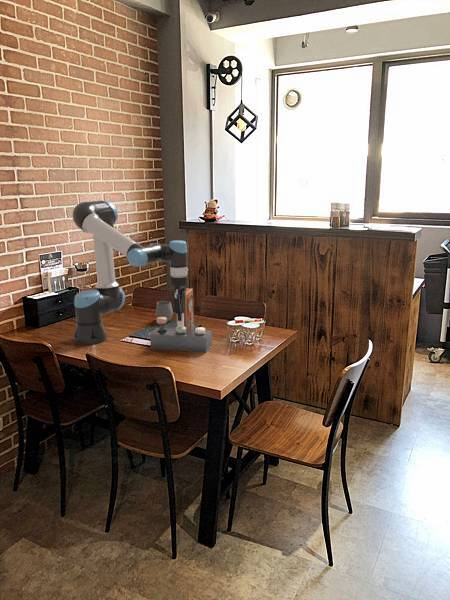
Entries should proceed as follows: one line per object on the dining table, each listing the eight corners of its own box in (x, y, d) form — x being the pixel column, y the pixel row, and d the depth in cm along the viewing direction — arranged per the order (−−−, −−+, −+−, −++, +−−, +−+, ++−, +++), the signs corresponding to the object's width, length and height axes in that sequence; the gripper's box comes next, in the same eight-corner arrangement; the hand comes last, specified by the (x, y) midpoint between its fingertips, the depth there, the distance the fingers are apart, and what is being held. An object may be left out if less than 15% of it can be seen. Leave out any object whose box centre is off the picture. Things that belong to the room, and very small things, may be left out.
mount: (150, 348, 227) (150, 334, 225) (158, 341, 236) (157, 327, 234) (206, 352, 222) (206, 337, 220) (211, 344, 231) (211, 330, 229)
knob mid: (175, 346, 227) (174, 328, 225) (178, 342, 231) (177, 325, 229) (184, 346, 226) (184, 329, 224) (187, 343, 230) (187, 326, 228)
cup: (164, 317, 276) (163, 299, 274) (176, 319, 271) (176, 302, 269) (152, 321, 269) (151, 303, 267) (165, 324, 264) (164, 305, 261)
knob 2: (194, 347, 225) (193, 330, 223) (196, 344, 230) (196, 327, 227) (204, 348, 224) (203, 330, 222) (206, 344, 229) (206, 327, 227)
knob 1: (155, 336, 228) (155, 319, 226) (159, 333, 232) (158, 316, 230) (165, 337, 227) (164, 319, 225) (168, 334, 231) (167, 317, 229)
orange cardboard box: (195, 328, 255) (187, 338, 241) (182, 328, 256) (173, 337, 242) (194, 288, 250) (186, 295, 236) (181, 287, 251) (172, 294, 237)
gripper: (183, 279, 214) (184, 331, 220) (191, 273, 226) (192, 323, 232) (166, 278, 215) (168, 330, 221) (175, 272, 228) (176, 322, 234)
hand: (180, 326), depth 227 cm, fingers closed
